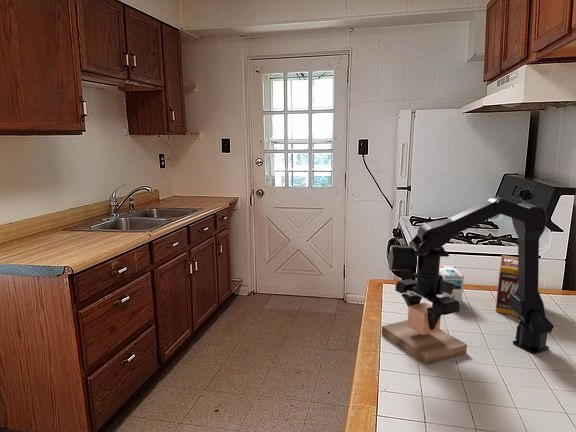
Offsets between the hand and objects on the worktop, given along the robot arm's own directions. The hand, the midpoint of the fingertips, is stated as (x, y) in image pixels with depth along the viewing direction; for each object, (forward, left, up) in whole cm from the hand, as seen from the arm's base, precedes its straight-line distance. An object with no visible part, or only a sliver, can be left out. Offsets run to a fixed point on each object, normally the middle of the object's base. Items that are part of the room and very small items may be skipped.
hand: (423, 324), depth 114 cm
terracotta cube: (0, 0, -1) cm, 1 cm away
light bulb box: (+20, -30, -6) cm, 37 cm away
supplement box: (+6, -46, -6) cm, 47 cm away
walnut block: (0, 0, -6) cm, 6 cm away
